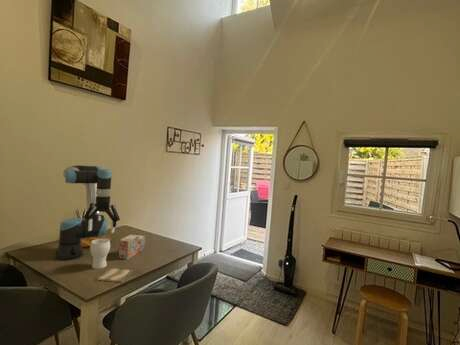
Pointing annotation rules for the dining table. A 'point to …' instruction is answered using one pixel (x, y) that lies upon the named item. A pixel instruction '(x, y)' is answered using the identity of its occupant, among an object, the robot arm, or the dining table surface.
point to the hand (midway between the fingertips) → (101, 231)
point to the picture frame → (114, 275)
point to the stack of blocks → (131, 246)
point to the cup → (99, 252)
